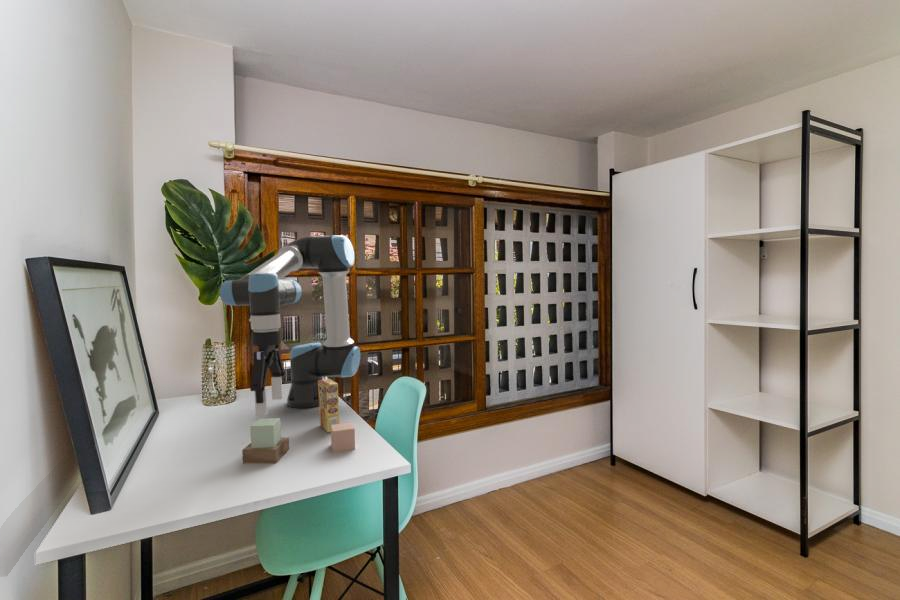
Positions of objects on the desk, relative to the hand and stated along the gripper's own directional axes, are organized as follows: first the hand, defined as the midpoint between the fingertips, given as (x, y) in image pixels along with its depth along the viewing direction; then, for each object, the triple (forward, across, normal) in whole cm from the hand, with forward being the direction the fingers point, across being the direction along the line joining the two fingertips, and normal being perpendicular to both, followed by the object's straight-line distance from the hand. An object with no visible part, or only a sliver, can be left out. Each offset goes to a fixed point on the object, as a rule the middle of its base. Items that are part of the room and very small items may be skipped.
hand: (270, 406), depth 122 cm
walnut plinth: (+14, +1, -1) cm, 14 cm away
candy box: (+14, -20, +12) cm, 28 cm away
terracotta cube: (+14, -3, +19) cm, 24 cm away
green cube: (+10, +1, -1) cm, 10 cm away
